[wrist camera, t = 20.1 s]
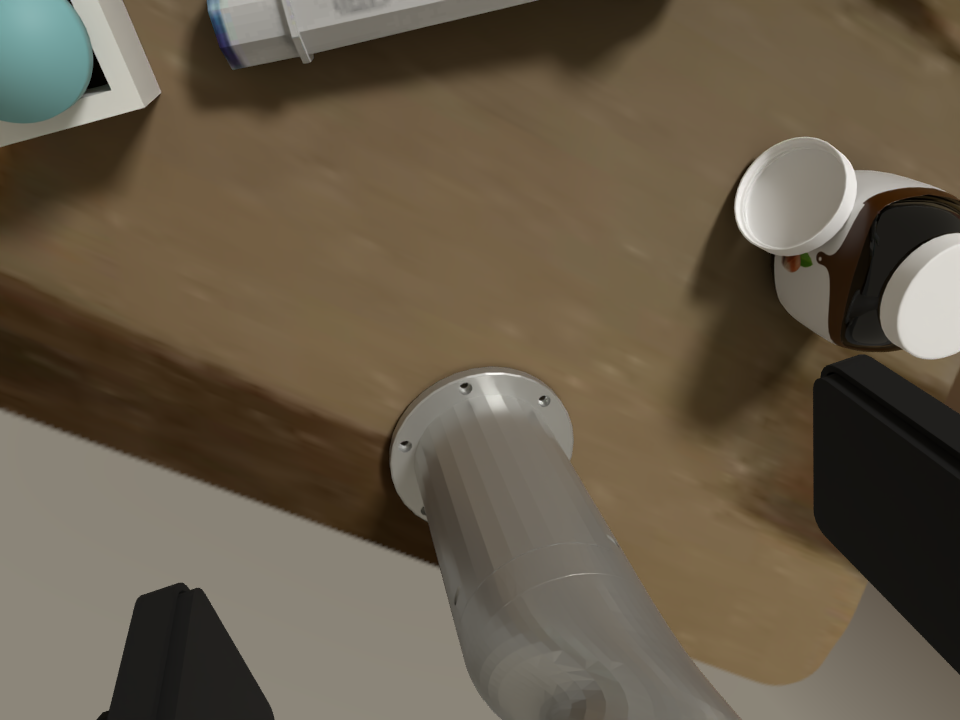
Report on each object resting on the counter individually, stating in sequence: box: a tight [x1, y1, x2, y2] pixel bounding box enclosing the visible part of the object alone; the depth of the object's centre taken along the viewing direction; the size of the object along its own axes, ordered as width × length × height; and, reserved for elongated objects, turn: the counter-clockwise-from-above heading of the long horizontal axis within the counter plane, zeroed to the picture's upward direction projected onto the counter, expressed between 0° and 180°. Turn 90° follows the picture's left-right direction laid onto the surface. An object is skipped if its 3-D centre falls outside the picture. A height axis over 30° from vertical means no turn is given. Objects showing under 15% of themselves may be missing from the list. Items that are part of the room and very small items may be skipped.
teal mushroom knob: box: [0, 0, 93, 124], centre depth 31 cm, size 6×6×6 cm
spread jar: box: [734, 137, 960, 359], centre depth 44 cm, size 12×11×12 cm
